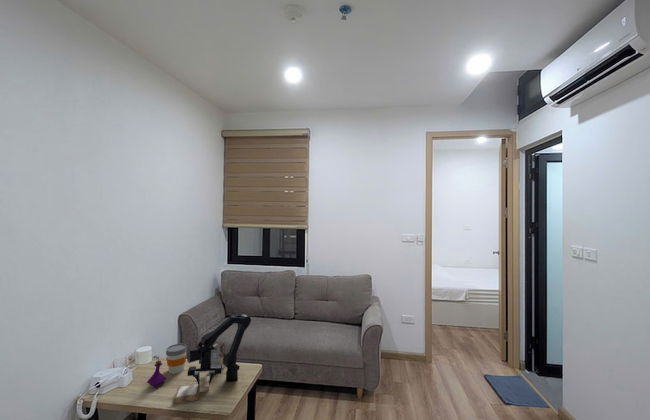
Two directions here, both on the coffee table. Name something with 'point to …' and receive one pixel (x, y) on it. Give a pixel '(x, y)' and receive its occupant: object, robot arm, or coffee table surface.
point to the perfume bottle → (157, 375)
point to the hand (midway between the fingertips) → (204, 384)
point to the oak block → (204, 384)
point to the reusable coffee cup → (176, 358)
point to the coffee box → (218, 355)
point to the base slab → (187, 393)
